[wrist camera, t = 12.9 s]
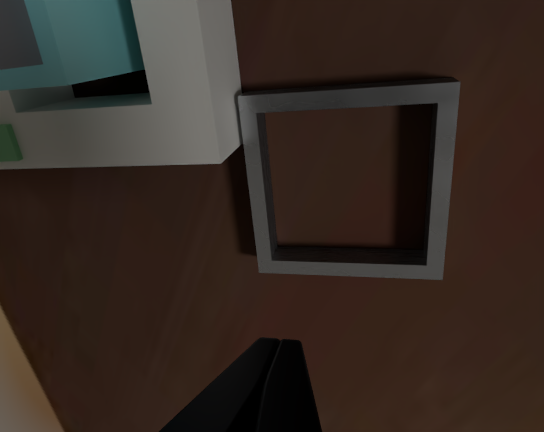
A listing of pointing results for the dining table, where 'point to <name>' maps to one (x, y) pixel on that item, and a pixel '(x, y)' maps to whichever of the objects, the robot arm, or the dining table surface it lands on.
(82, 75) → the plug
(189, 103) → the frame
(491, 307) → the dining table surface
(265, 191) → the open square ring
